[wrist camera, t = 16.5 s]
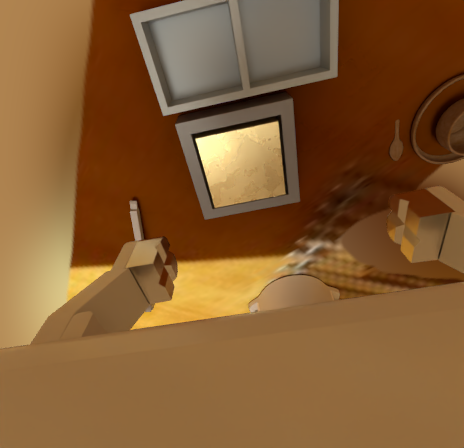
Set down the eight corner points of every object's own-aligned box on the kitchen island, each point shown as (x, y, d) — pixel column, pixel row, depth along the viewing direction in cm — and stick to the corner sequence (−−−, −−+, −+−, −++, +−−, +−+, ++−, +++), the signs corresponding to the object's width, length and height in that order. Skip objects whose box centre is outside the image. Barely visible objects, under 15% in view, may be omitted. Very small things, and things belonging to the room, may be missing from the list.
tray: (325, -33, 28) (339, -40, 25) (325, 72, 34) (337, 76, 31) (139, 16, 30) (129, 14, 27) (168, 107, 35) (163, 116, 32)
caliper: (158, 289, 54) (152, 316, 49) (152, 289, 54) (146, 316, 49) (137, 199, 42) (126, 223, 37) (130, 199, 42) (118, 223, 37)
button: (280, 181, 41) (285, 194, 38) (215, 194, 42) (214, 207, 39) (272, 112, 36) (278, 121, 32) (197, 129, 37) (195, 138, 33)
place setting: (538, 48, 34) (591, 51, 29) (494, 188, 45) (527, 207, 40) (389, 91, 36) (415, 101, 31) (383, 215, 47) (402, 236, 42)
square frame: (293, 188, 43) (299, 201, 40) (205, 205, 44) (204, 219, 41) (286, 91, 35) (292, 98, 32) (178, 115, 36) (174, 124, 33)
